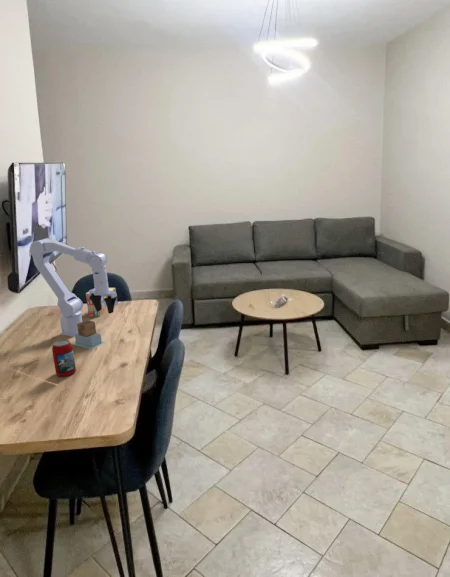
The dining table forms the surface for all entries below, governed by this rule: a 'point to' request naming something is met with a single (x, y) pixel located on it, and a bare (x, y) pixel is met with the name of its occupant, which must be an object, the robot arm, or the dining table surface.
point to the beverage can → (63, 358)
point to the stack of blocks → (104, 309)
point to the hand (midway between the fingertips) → (104, 311)
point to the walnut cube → (86, 328)
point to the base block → (88, 340)
